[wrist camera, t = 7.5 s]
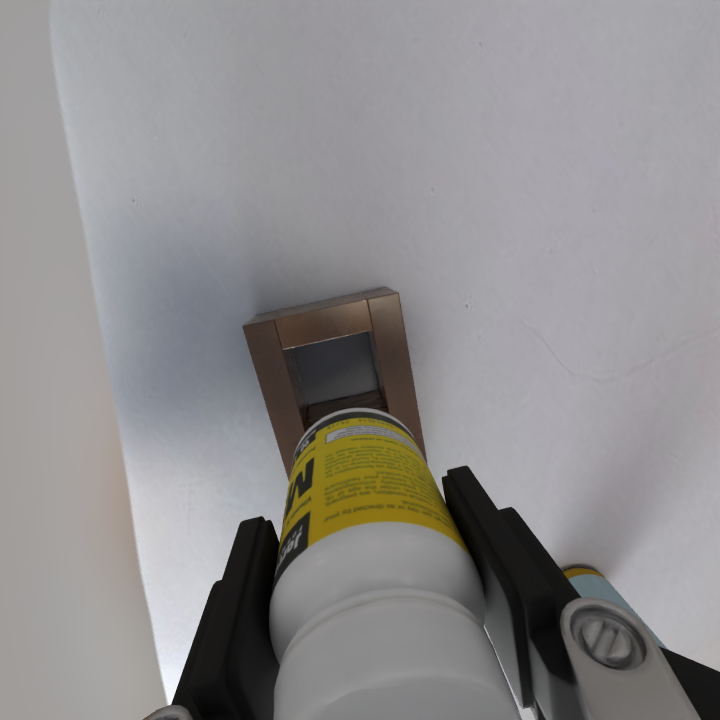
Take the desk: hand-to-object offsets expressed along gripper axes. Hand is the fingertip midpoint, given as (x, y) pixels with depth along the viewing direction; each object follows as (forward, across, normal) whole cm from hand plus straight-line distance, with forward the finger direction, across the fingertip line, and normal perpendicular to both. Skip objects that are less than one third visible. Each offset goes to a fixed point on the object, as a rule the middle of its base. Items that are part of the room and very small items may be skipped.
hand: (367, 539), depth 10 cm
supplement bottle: (+4, 0, 0) cm, 4 cm away
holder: (+18, 0, +4) cm, 19 cm away
